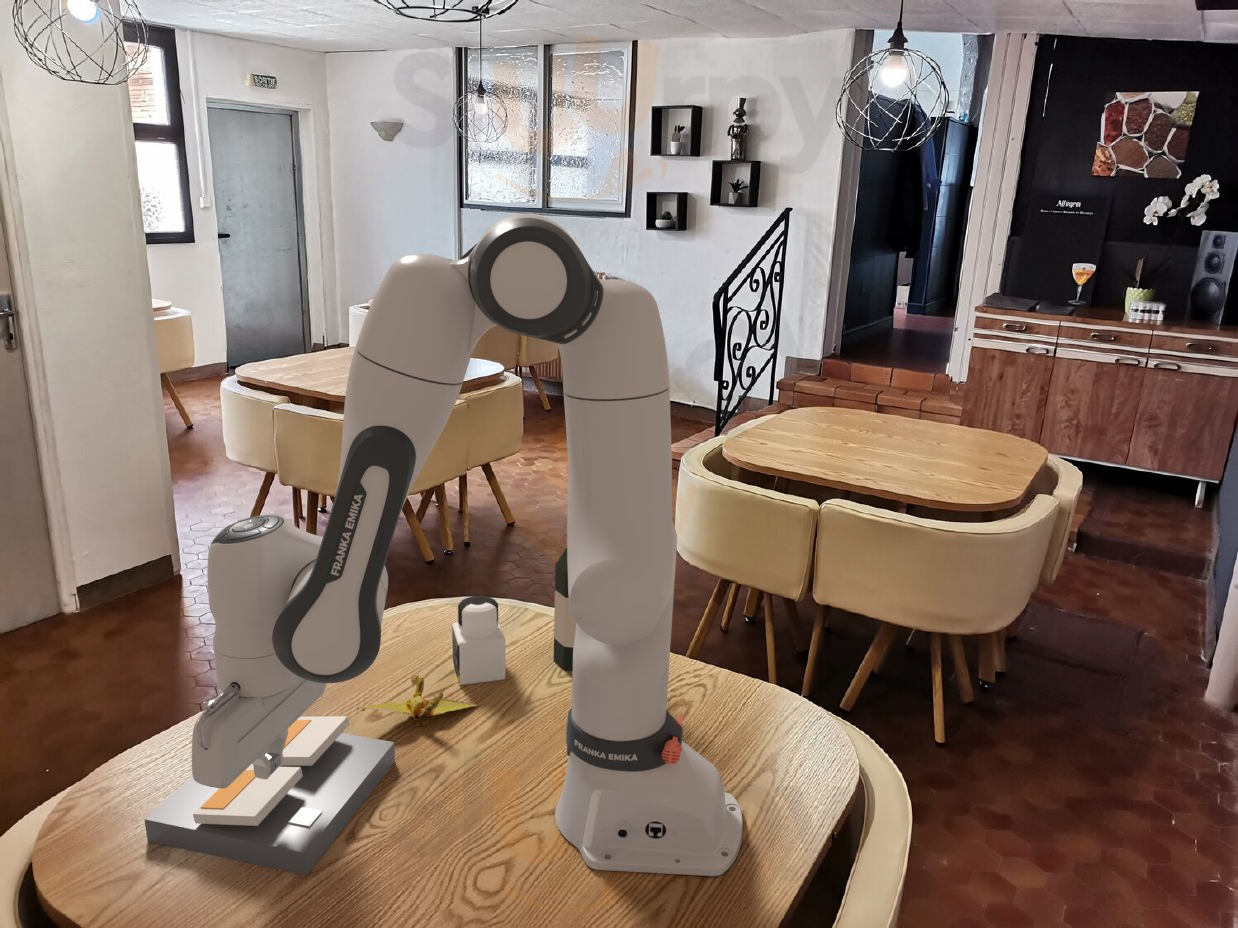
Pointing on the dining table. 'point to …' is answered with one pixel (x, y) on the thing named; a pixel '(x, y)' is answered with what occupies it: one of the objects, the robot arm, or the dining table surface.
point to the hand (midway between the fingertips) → (269, 771)
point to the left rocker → (247, 798)
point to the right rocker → (311, 738)
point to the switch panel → (282, 810)
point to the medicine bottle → (478, 642)
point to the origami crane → (421, 704)
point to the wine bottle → (563, 617)
